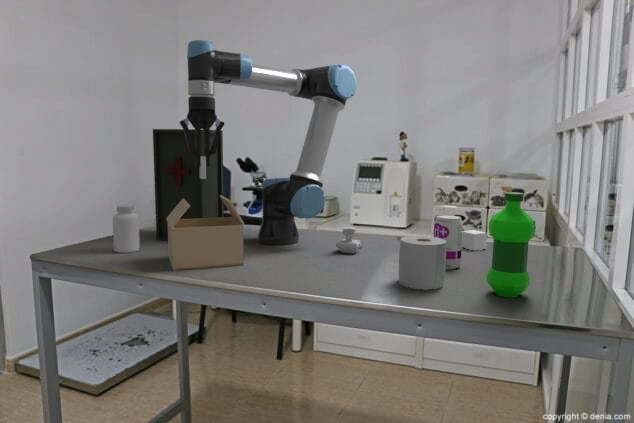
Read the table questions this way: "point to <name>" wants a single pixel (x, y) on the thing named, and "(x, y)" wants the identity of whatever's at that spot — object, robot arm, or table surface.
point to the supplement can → (450, 238)
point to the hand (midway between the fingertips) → (202, 178)
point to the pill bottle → (126, 229)
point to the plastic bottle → (510, 247)
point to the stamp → (349, 241)
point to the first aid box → (185, 178)
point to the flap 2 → (231, 209)
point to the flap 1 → (177, 213)
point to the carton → (205, 243)
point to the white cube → (474, 240)
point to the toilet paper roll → (422, 262)
